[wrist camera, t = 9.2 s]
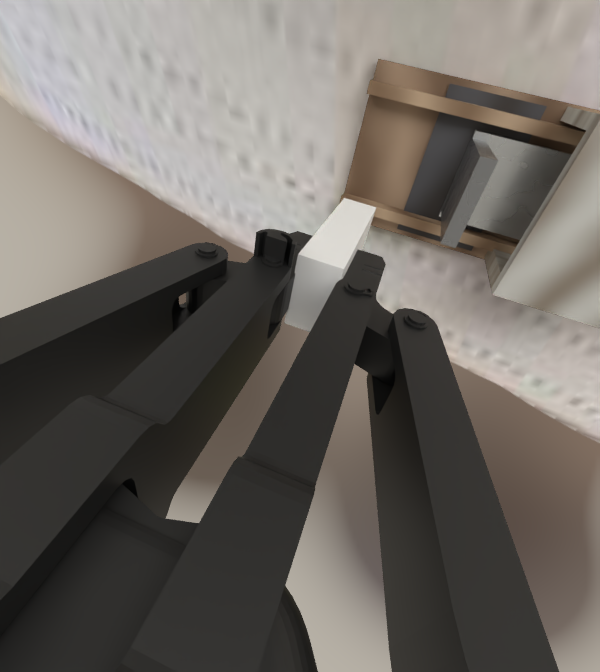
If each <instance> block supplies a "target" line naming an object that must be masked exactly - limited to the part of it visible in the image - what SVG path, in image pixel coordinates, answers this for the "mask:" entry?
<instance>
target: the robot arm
mask: <svg viewBox="0 0 600 672" xmlns="http://www.w3.org/2000/svg"><path fill="white" fill-rule="evenodd" d="M375 210H376V207H373V206H370V205H366V204H363V203H360V202H356V201H353V200H350V199H346V198H344V199H343V200H342V201H341V203H340V204H339V205H338V206H337V207H336V209H335V210H334V211H333V212H332V214H331V215H330V216H329V217H328V218H327V220H326V221H325V222H324V223H323V224H322V226H321V227H320V228H319V229H318V231H317V232H316V233H315V234H314V235H313V236H311V235H308V234H305V233H302V232H298V231H297V232H293V233H290V234H288V233H286V232H284V231H279V230H274V229H265V230H260V231H258V232H256V241H255V250H254V256H253V257H252V258H251V259H250V260H249V261H248V262H247V263H239V262H233V261H228V253H227V251H226V250H225V249H224V248H222V247H221V246H218V245H216V244H213V243H207V242H205V243H196V244H192V245H190V246H187V247H184V248H182V249H179V250H176V251H174V252H171V253H169V254H166V255H163V256H161V257H158V258H156V259H153V260H151V261H148V262H145V263H143V264H140V265H138V266H135V267H132V268H130V269H127V270H124V271H122V272H119V273H117V274H114V275H112V276H109V277H106V278H104V279H101V280H99V281H96V282H93V283H91V284H88V285H86V286H83V287H80V288H78V289H75V290H72V291H70V292H67V293H65V294H62V295H59V296H57V297H54V298H52V299H49V300H46V301H44V302H41V303H39V304H36V305H34V306H31V307H28V308H26V309H23V310H21V311H18V312H15V313H13V314H10V315H7V316H5V317H2V318H0V672H318V671H317V667H316V663H315V659H314V655H313V651H312V647H311V643H310V639H309V636H308V632H307V629H306V626H305V623H304V621H303V618H302V615H301V613H300V611H299V608H298V607H297V605H296V603H295V601H294V599H293V597H292V595H291V594H290V592H289V591H288V589H287V588H286V586H285V584H286V580H287V578H288V574H289V571H290V568H291V565H292V562H293V558H294V556H295V552H296V549H297V546H298V543H299V540H300V537H301V533H302V530H303V527H304V524H305V521H306V518H307V515H308V512H309V508H310V505H311V502H312V499H313V495H314V491H315V485H316V481H317V478H318V475H319V472H320V468H321V465H322V462H323V459H324V456H325V453H326V450H327V447H328V444H329V441H330V438H331V434H332V431H333V428H334V425H335V422H336V419H337V416H338V412H339V410H340V407H341V404H342V400H343V397H344V394H345V391H346V388H347V385H348V382H349V378H350V376H351V372H352V369H353V366H354V364H356V365H357V366H359V367H360V368H362V369H364V370H365V371H367V372H368V376H367V388H368V399H369V412H370V424H371V436H372V448H373V460H374V472H375V484H376V496H377V509H378V521H379V533H380V544H381V557H382V569H383V580H384V591H385V603H386V604H385V605H386V617H387V629H388V641H389V651H390V660H391V668H392V672H559V670H558V667H557V664H556V661H555V659H554V656H553V653H552V650H551V647H550V645H549V642H548V639H547V636H546V633H545V630H544V628H543V625H542V622H541V619H540V616H539V614H538V611H537V608H536V605H535V602H534V599H533V596H532V593H531V591H530V588H529V585H528V582H527V579H526V576H525V574H524V571H523V568H522V565H521V563H520V559H519V557H518V554H517V551H516V548H515V545H514V542H513V539H512V537H511V534H510V531H509V528H508V525H507V522H506V520H505V517H504V514H503V511H502V508H501V506H500V503H499V500H498V497H497V494H496V491H495V489H494V486H493V483H492V480H491V477H490V474H489V471H488V469H487V466H486V463H485V460H484V457H483V454H482V452H481V449H480V446H479V443H478V440H477V438H476V435H475V432H474V429H473V426H472V423H471V420H470V418H469V415H468V412H467V409H466V406H465V403H464V400H463V398H462V395H461V392H460V390H459V386H458V384H457V381H456V378H455V375H454V372H453V369H452V366H451V364H450V361H449V358H448V355H447V352H446V349H445V347H444V344H443V341H442V338H441V335H440V332H439V330H438V327H437V325H436V323H435V322H434V320H432V319H431V318H430V317H429V316H428V315H426V314H425V313H423V312H421V311H417V310H413V309H406V308H404V309H399V310H397V311H396V312H395V313H394V314H392V313H390V312H389V311H387V310H386V309H384V308H383V307H382V306H381V305H380V304H379V303H378V302H377V300H376V292H377V289H378V286H379V283H380V280H381V277H382V274H383V270H384V267H385V262H384V260H383V258H382V257H380V256H377V255H374V254H371V253H368V252H365V251H363V248H364V244H365V241H366V238H367V235H368V232H369V229H370V226H371V223H372V219H373V216H374V213H375ZM184 293H186V303H184V304H181V305H179V296H180V295H182V294H184ZM285 313H286V318H285V323H286V324H289V325H291V326H294V327H297V328H300V329H303V330H305V331H308V332H310V333H309V335H308V337H307V339H306V341H305V342H304V344H303V346H302V348H301V350H300V352H299V354H298V355H297V357H296V359H295V361H294V363H293V365H292V367H291V368H290V370H289V372H288V374H287V376H286V378H285V380H284V382H283V384H282V385H281V387H280V389H279V391H278V393H277V395H276V397H275V398H274V400H273V402H272V404H271V406H270V408H269V410H268V412H267V414H266V415H265V417H264V419H263V421H262V423H261V425H260V427H259V428H258V430H257V432H256V434H255V436H254V438H253V440H252V441H251V444H250V445H249V447H248V449H247V451H246V453H245V454H244V455H243V456H242V457H238V458H237V459H236V460H235V461H234V462H233V464H232V466H231V467H230V469H229V470H228V472H227V474H226V476H225V477H224V479H223V481H222V483H221V485H220V486H219V488H218V490H217V492H216V494H215V496H214V497H213V499H212V501H211V503H210V505H209V506H208V508H207V510H206V512H205V514H204V516H203V517H202V519H201V521H200V523H192V522H185V521H177V520H171V519H165V518H166V516H167V513H168V510H169V507H170V503H171V501H172V498H173V496H174V494H175V492H176V491H177V489H178V487H179V486H180V484H181V482H182V481H183V479H184V478H185V476H186V475H187V473H188V472H189V470H190V469H191V467H192V466H193V464H194V462H195V461H196V459H197V458H198V456H199V455H200V453H201V452H202V450H203V448H204V447H205V445H206V444H207V442H208V441H209V439H210V438H211V436H212V434H213V433H214V431H215V430H216V428H217V427H218V425H219V423H220V422H221V421H222V419H223V417H224V416H225V414H226V413H227V411H228V410H229V408H230V407H231V405H232V403H233V402H234V400H235V399H236V397H237V396H238V394H239V393H240V391H241V389H242V388H243V386H244V385H245V383H246V382H247V380H248V379H249V377H250V375H251V374H252V372H253V371H254V369H255V368H256V366H257V365H258V363H259V361H260V360H261V358H262V357H263V355H264V354H265V352H266V351H267V349H268V348H269V346H270V344H271V343H272V341H273V340H274V338H275V337H276V335H277V333H278V332H279V330H280V326H281V320H282V318H283V316H284V315H285Z"/></svg>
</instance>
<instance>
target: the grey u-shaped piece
mask: <svg viewBox="0 0 600 672" xmlns="http://www.w3.org/2000/svg"><path fill="white" fill-rule="evenodd" d="M571 155H572V154H570V153H566V152H562V151H558V150H554V149H550V148H546V147H542V146H538V145H534V144H530V143H526V142H522V141H518V140H514V139H510V138H506V137H502V136H498V135H494V134H491V133H487V132H483V131H479V130H475V131H474V134H473V136H472V138H471V141H470V143H469V145H468V148H467V150H466V152H465V155H464V157H463V159H462V162H461V164H460V166H459V169H458V171H457V173H456V176H455V178H454V180H453V182H452V185H451V187H450V189H449V192H448V194H447V196H446V199H445V201H444V203H443V206H442V208H441V210H440V213H439V217H441V238H440V244H443V245H447V246H450V247H453V248H456V246H457V244H458V242H459V240H460V238H461V236H462V234H463V232H464V230H465V228H466V226H467V225H470V226H473V227H476V228H480V229H483V230H487V231H490V232H494V233H497V234H501V235H504V236H508V237H511V238H514V239H518V240H521V238H522V236H523V235H524V233H525V232H526V230H527V228H528V227H529V225H530V223H531V222H532V220H533V218H534V217H535V215H536V213H537V212H538V210H539V208H540V207H541V205H542V203H543V202H544V200H545V198H546V197H547V195H548V193H549V192H550V190H551V188H552V187H553V185H554V183H555V182H556V180H557V179H558V177H559V175H560V174H561V172H562V170H563V169H564V167H565V165H566V164H567V162H568V160H569V159H570V157H571Z"/></svg>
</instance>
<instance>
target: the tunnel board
mask: <svg viewBox="0 0 600 672" xmlns="http://www.w3.org/2000/svg"><path fill="white" fill-rule="evenodd" d="M367 94H369V98H368V102H367V106H366V110H365V114H364V118H363V122H362V126H361V130H360V134H359V138H358V141H357V145H356V149H355V153H354V157H353V161H352V165H351V169H350V173H349V177H348V181H347V185H346V189H345V193H344V194H343V195H342V196H341V199H340V203H341V201H342V200H343V199H344V198H346V199H350V200H353V201H356V202H360V203H363V204H366V205H370V206H373V207H376V210H375V213H374V216H373V219H372V223H371V225H372V226H375V227H379V228H382V229H385V230H389V231H392V232H395V233H399V234H402V235H405V236H409V237H412V238H415V239H419V240H422V241H425V242H429V243H432V244H435V245H439V246H442V247H445V248H449V249H452V250H455V251H458V252H462V253H465V254H468V255H472V256H475V257H478V258H482V259H485V263H486V268H487V272H488V277H489V281H490V286H491V291H492V295H494V296H498V297H501V298H504V299H507V300H510V301H514V302H517V303H520V304H523V305H526V306H530V307H533V308H536V309H539V310H542V311H545V312H549V313H552V314H555V315H558V316H561V317H565V318H568V319H571V320H574V321H577V322H581V323H584V324H587V325H590V326H593V327H596V328H600V111H599V110H595V109H590V108H586V107H582V106H578V105H573V104H569V103H565V102H561V101H556V100H552V99H548V98H543V97H539V96H535V95H531V94H526V93H522V92H518V91H514V90H509V89H505V88H501V87H496V86H492V85H488V84H484V83H479V82H475V81H471V80H466V79H462V78H458V77H454V76H449V75H445V74H441V73H437V72H432V71H428V70H424V69H419V68H415V67H411V66H407V65H402V64H398V63H394V62H390V61H385V60H381V59H378V63H377V66H376V70H375V74H374V78H373V80H370V83H369V87H368V91H367ZM475 130H479V131H483V132H487V133H491V134H494V135H498V136H502V137H506V138H510V139H514V140H518V141H522V142H526V143H530V144H534V145H538V146H542V147H546V148H550V149H554V150H558V151H562V152H566V153H570V154H572V155H571V157H570V159H569V160H568V162H567V164H566V165H565V167H564V169H563V170H562V172H561V174H560V175H559V177H558V179H557V180H556V182H555V183H554V185H553V187H552V188H551V190H550V192H549V193H548V195H547V197H546V198H545V200H544V202H543V203H542V205H541V207H540V208H539V210H538V212H537V213H536V215H535V217H534V218H533V220H532V222H531V223H530V225H529V227H528V228H527V230H526V232H525V233H524V235H523V236H522V238H521V240H518V239H514V238H511V237H508V236H504V235H501V234H497V233H494V232H490V231H487V230H483V229H480V228H476V227H473V226H470V225H467V226H466V228H465V230H464V232H463V234H462V236H461V238H460V240H459V242H458V244H457V246H456V248H453V247H450V246H447V245H443V244H440V238H441V217H439V213H440V210H441V208H442V206H443V203H444V201H445V199H446V196H447V194H448V192H449V189H450V187H451V185H452V182H453V180H454V178H455V176H456V173H457V171H458V169H459V166H460V164H461V162H462V159H463V157H464V155H465V152H466V150H467V148H468V145H469V143H470V141H471V138H472V136H473V134H474V131H475ZM340 203H339V204H340Z"/></svg>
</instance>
